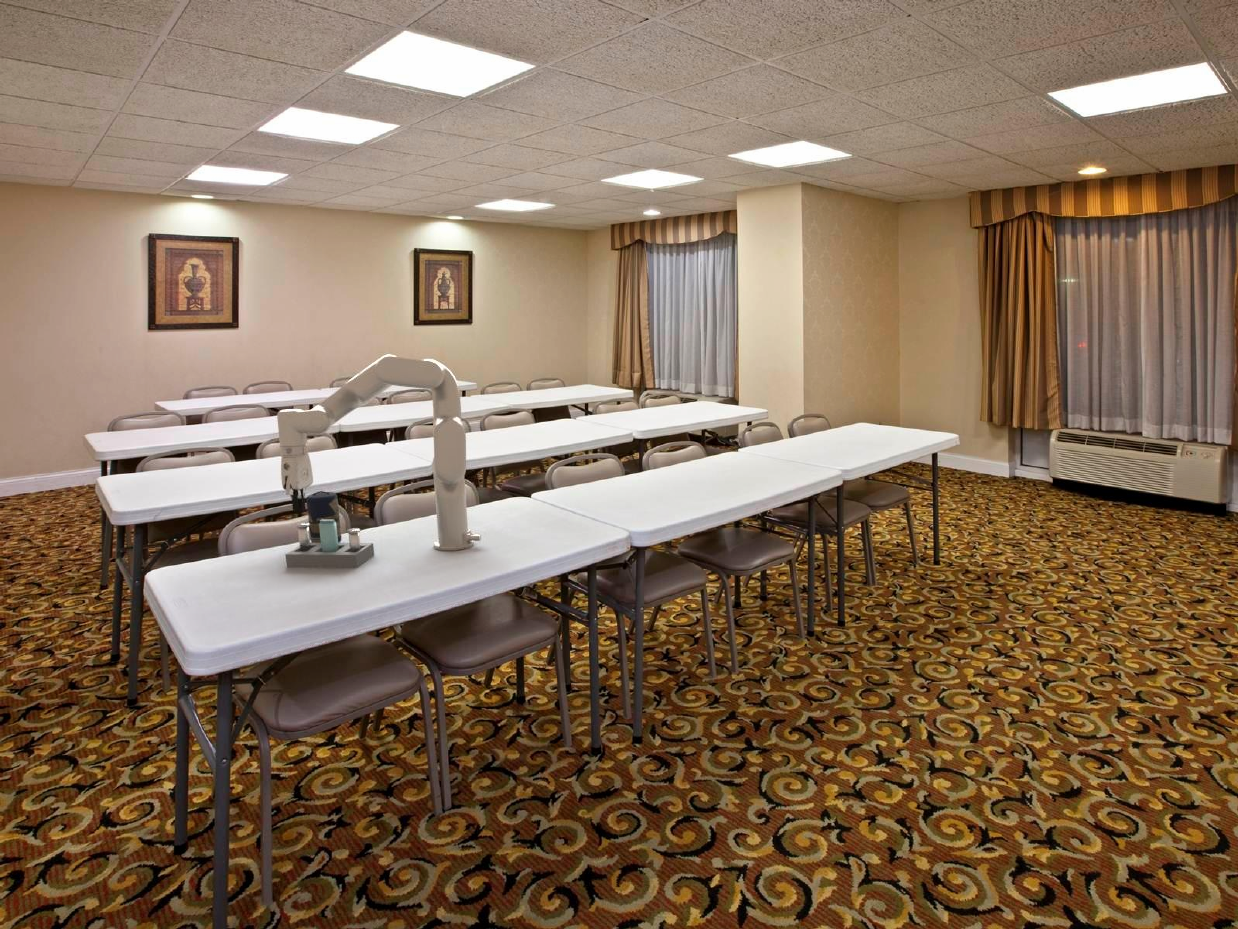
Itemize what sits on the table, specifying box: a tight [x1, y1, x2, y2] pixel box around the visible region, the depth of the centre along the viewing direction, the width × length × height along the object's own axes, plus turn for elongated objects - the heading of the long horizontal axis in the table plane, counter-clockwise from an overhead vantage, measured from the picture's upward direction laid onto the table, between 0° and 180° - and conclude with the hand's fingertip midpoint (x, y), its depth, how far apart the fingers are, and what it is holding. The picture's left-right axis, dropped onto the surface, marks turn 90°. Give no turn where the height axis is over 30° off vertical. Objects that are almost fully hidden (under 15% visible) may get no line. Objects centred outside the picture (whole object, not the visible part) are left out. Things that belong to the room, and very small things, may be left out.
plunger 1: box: [295, 522, 311, 552], centre depth 227 cm, size 4×4×9 cm
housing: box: [285, 542, 375, 569], centre depth 227 cm, size 22×12×4 cm, turn 84°
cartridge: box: [319, 519, 339, 552], centre depth 226 cm, size 5×5×13 cm
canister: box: [305, 490, 343, 543], centre depth 243 cm, size 10×10×18 cm
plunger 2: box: [346, 527, 361, 552], centre depth 225 cm, size 4×4×9 cm
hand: (299, 510), depth 225 cm, fingers closed
